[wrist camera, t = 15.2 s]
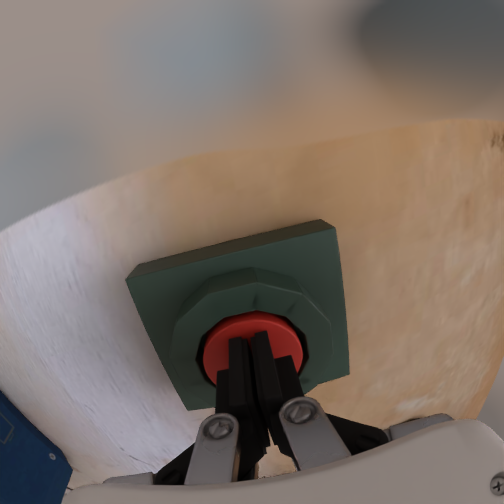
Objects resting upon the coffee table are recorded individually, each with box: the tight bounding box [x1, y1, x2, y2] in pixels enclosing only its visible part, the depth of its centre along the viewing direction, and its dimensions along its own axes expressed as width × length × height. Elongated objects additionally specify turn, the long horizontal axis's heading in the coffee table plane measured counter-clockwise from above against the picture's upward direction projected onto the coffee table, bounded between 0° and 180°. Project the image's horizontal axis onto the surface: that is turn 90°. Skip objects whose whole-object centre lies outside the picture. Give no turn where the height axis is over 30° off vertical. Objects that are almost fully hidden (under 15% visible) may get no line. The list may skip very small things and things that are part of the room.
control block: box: [125, 219, 350, 411], centre depth 14 cm, size 10×9×4 cm
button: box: [203, 310, 303, 384], centre depth 13 cm, size 4×4×2 cm
